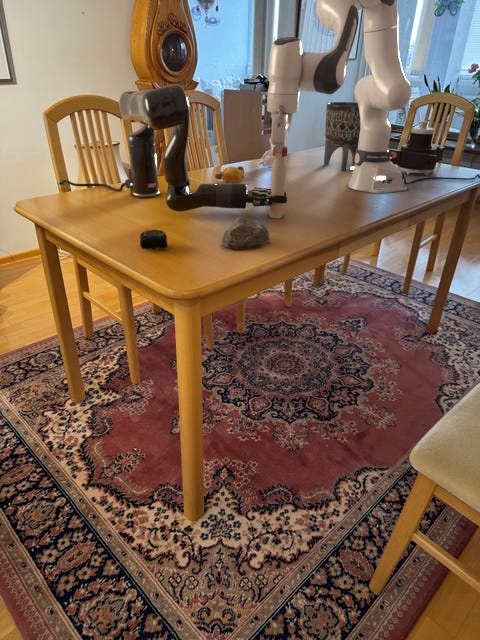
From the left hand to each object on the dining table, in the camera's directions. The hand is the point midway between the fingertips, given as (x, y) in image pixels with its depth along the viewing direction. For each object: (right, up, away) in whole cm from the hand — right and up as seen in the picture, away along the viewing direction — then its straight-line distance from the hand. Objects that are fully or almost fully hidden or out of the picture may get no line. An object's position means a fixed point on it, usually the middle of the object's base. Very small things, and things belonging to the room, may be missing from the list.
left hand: (285, 197), depth 140 cm
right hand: (-3, +11, -6) cm, 12 cm away
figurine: (0, +31, +66) cm, 73 cm away
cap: (-2, +13, -7) cm, 15 cm away
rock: (-12, -18, -19) cm, 29 cm away
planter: (+33, +33, +70) cm, 84 cm away
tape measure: (-36, -20, -23) cm, 47 cm away
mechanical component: (+67, +30, +67) cm, 100 cm away
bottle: (-3, -5, +3) cm, 7 cm away
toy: (-17, +18, +42) cm, 49 cm away
